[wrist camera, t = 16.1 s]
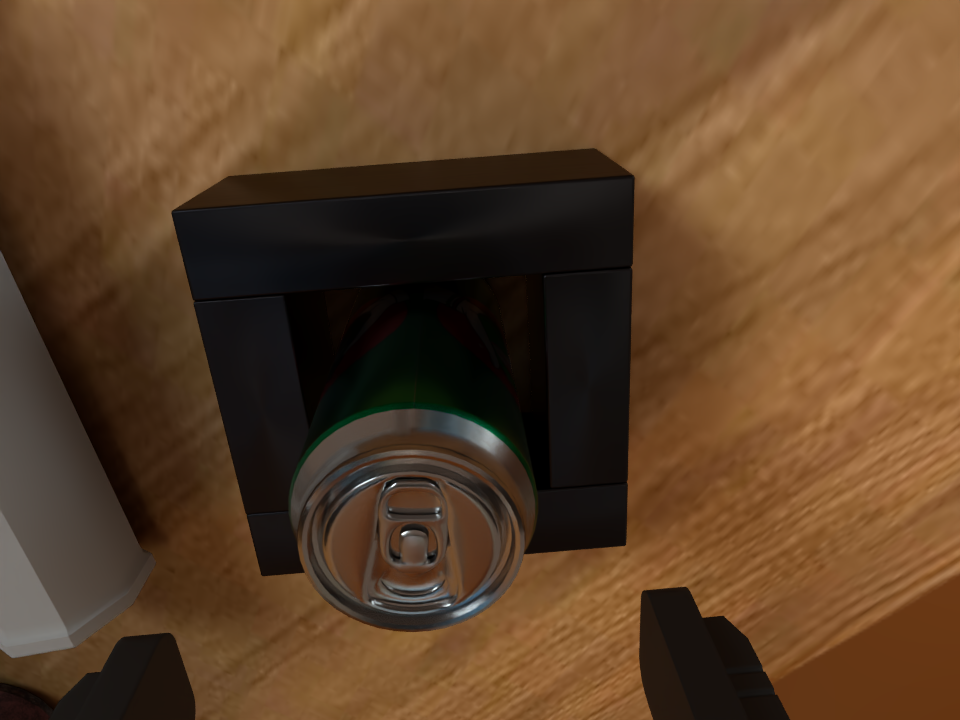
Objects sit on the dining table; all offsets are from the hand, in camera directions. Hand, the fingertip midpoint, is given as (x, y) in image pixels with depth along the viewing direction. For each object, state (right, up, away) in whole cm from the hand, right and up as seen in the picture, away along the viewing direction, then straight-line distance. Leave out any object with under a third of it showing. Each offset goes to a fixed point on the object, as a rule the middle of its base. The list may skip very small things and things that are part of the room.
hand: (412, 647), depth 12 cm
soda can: (-1, +6, +12) cm, 14 cm away
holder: (-1, +6, +12) cm, 14 cm away
